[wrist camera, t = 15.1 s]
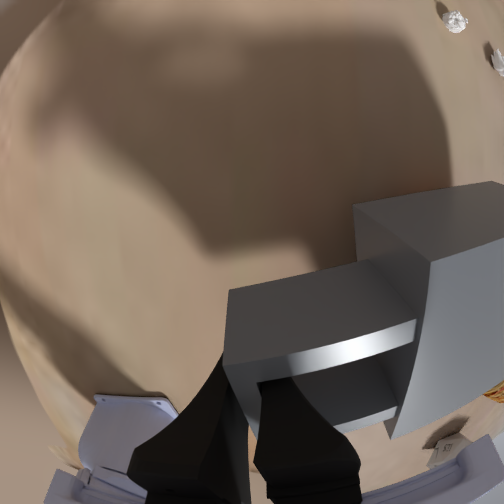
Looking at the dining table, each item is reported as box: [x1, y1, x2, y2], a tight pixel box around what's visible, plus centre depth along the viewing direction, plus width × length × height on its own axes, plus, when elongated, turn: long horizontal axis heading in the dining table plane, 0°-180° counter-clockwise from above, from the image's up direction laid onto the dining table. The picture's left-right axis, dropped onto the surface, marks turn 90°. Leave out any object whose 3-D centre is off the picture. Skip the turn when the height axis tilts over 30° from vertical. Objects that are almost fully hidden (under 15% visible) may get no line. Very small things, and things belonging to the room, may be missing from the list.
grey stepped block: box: [222, 181, 504, 440], centre depth 11 cm, size 16×10×6 cm, turn 103°
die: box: [426, 432, 473, 469], centre depth 26 cm, size 8×9×10 cm
